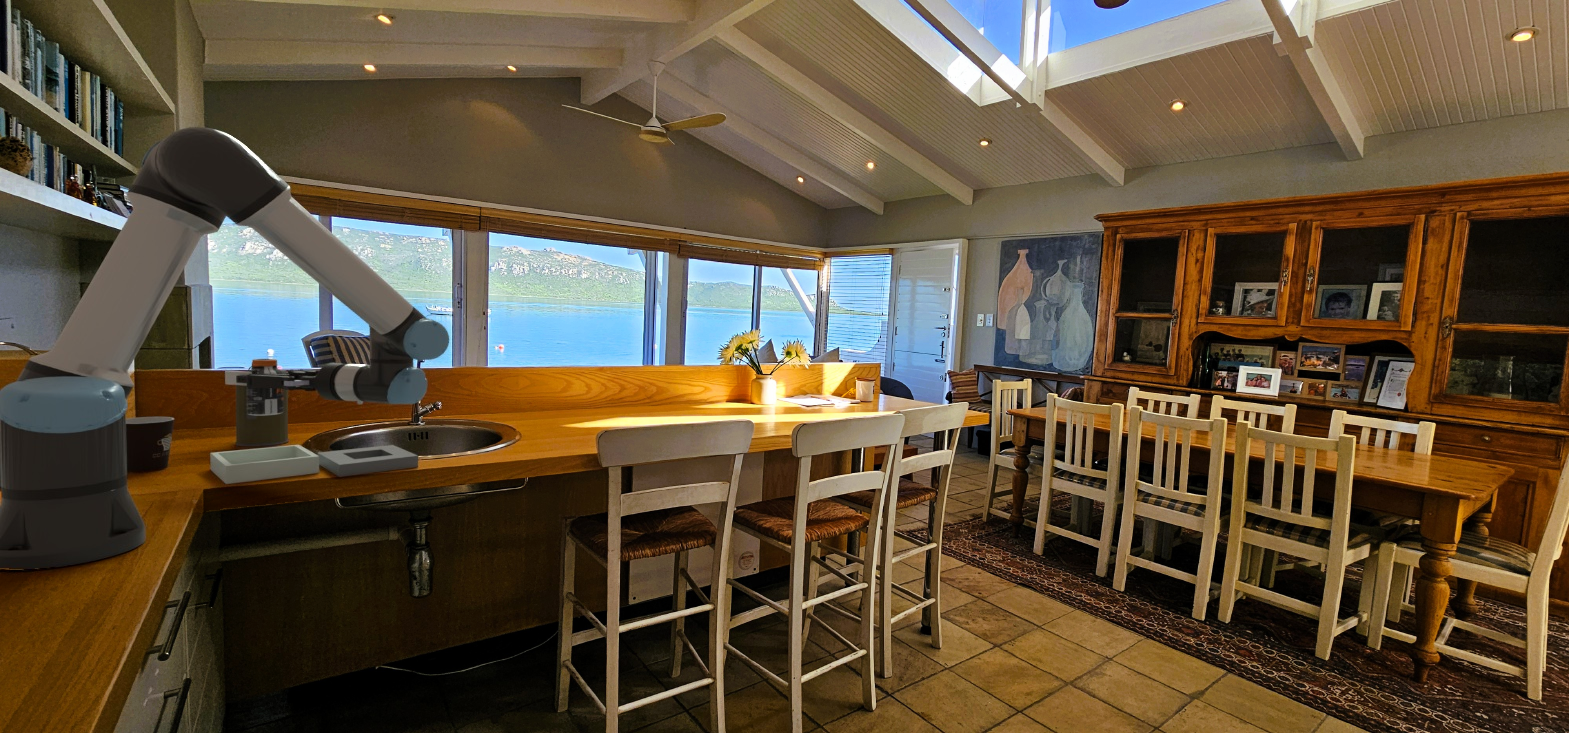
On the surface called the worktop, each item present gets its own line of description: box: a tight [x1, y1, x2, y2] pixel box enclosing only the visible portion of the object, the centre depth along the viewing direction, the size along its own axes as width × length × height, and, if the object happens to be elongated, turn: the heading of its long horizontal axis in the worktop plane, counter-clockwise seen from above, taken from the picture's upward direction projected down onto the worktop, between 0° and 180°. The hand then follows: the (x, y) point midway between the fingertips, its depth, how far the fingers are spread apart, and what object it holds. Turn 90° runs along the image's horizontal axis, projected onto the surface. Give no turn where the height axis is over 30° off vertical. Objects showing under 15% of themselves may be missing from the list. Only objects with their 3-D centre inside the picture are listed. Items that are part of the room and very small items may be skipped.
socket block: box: [317, 444, 419, 478], centre depth 145 cm, size 15×15×2 cm
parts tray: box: [209, 444, 320, 485], centre depth 136 cm, size 15×15×4 cm
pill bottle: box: [247, 358, 283, 415], centre depth 135 cm, size 6×6×11 cm
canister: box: [234, 365, 290, 448], centre depth 162 cm, size 11×10×20 cm
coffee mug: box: [126, 416, 175, 474], centre depth 135 cm, size 12×9×10 cm
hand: (242, 376), depth 136 cm, fingers closed on pill bottle, 6 cm apart
